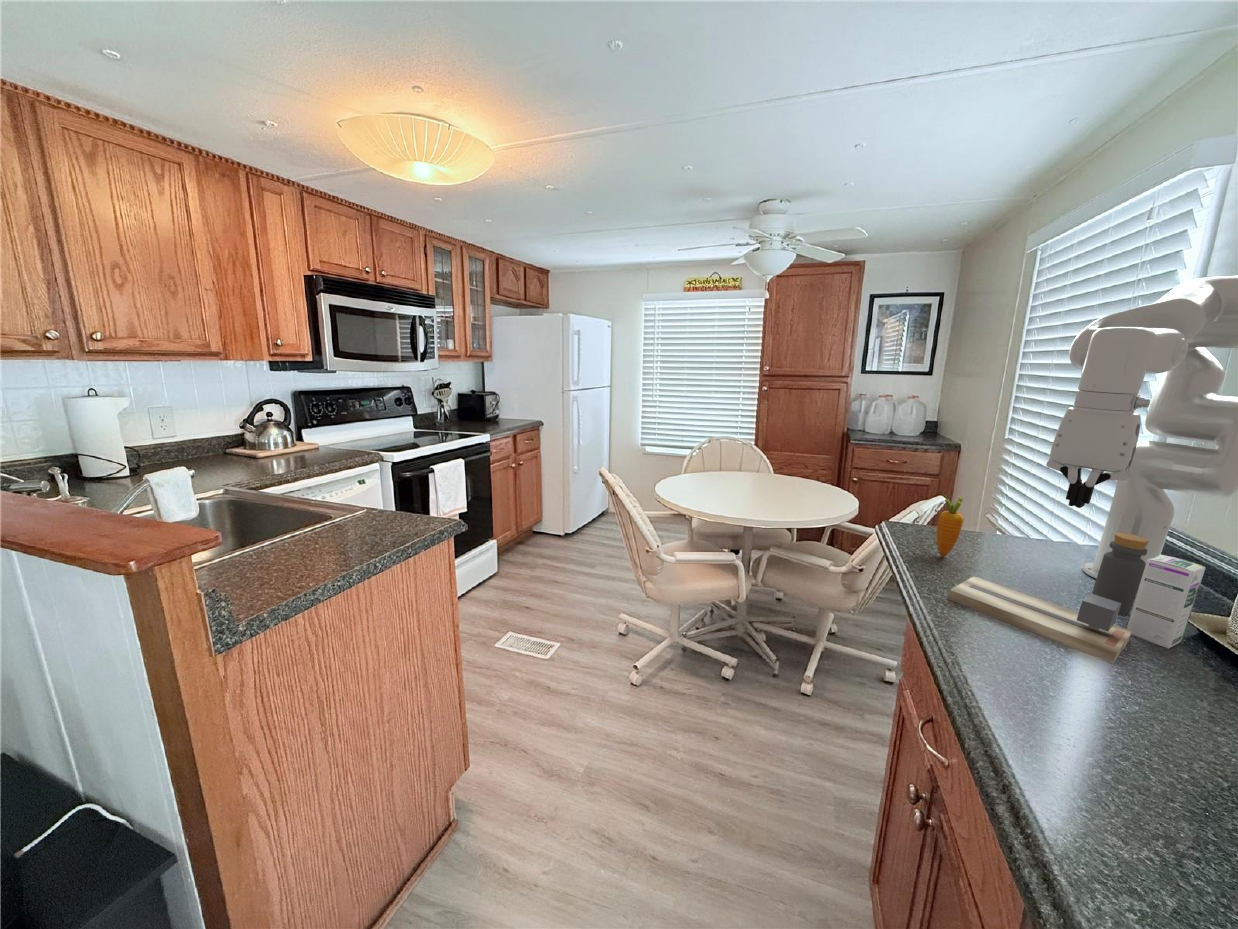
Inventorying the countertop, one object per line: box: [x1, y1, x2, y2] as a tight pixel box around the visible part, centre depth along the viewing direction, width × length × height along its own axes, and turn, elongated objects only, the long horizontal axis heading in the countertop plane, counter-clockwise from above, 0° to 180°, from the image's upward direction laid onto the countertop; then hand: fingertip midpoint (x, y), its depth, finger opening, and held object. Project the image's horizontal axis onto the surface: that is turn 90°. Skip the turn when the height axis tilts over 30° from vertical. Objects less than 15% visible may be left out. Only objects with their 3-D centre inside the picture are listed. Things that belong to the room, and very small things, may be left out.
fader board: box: [947, 575, 1132, 665], centre depth 91 cm, size 12×24×2 cm, turn 35°
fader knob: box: [1077, 592, 1121, 631], centre depth 84 cm, size 5×4×5 cm
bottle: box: [1091, 533, 1149, 616], centre depth 96 cm, size 6×6×15 cm
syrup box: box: [1126, 554, 1206, 649], centre depth 86 cm, size 6×6×14 cm
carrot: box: [936, 497, 965, 558], centre depth 117 cm, size 5×5×15 cm
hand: (1076, 505), depth 87 cm, fingers closed
